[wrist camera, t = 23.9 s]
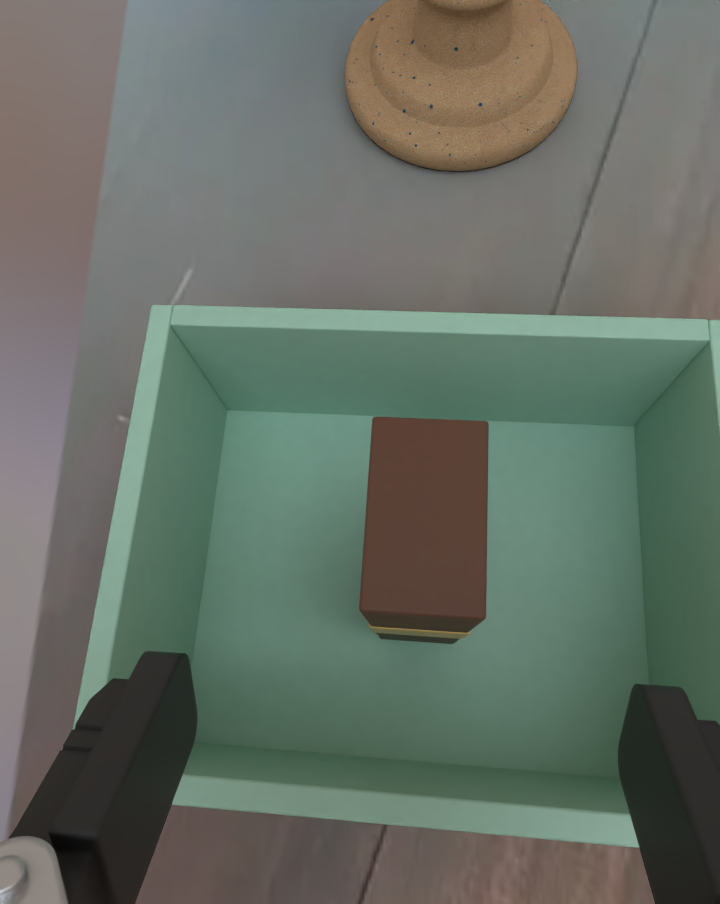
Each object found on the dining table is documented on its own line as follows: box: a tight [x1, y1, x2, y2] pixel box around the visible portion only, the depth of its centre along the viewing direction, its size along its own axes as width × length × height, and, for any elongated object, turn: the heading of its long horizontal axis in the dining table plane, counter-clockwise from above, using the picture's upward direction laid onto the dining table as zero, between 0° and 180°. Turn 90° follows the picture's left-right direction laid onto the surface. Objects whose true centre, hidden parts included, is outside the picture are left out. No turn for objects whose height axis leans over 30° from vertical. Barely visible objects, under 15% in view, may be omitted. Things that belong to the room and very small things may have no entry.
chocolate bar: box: [359, 417, 489, 644], centre depth 23 cm, size 3×5×12 cm, turn 176°
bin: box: [73, 305, 720, 848], centre depth 25 cm, size 20×16×9 cm
